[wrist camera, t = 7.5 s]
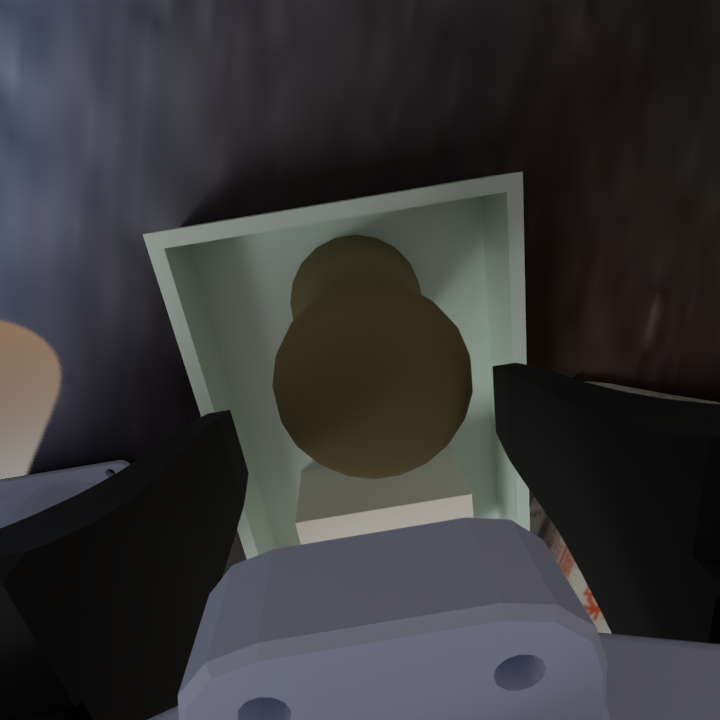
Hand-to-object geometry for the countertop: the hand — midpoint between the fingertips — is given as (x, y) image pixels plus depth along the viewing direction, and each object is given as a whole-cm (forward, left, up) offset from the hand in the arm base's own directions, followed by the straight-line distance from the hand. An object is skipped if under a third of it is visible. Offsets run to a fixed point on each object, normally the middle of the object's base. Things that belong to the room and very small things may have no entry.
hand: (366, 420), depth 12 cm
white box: (0, -10, -9) cm, 14 cm away
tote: (0, -5, -10) cm, 12 cm away
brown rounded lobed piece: (0, +1, -10) cm, 10 cm away
